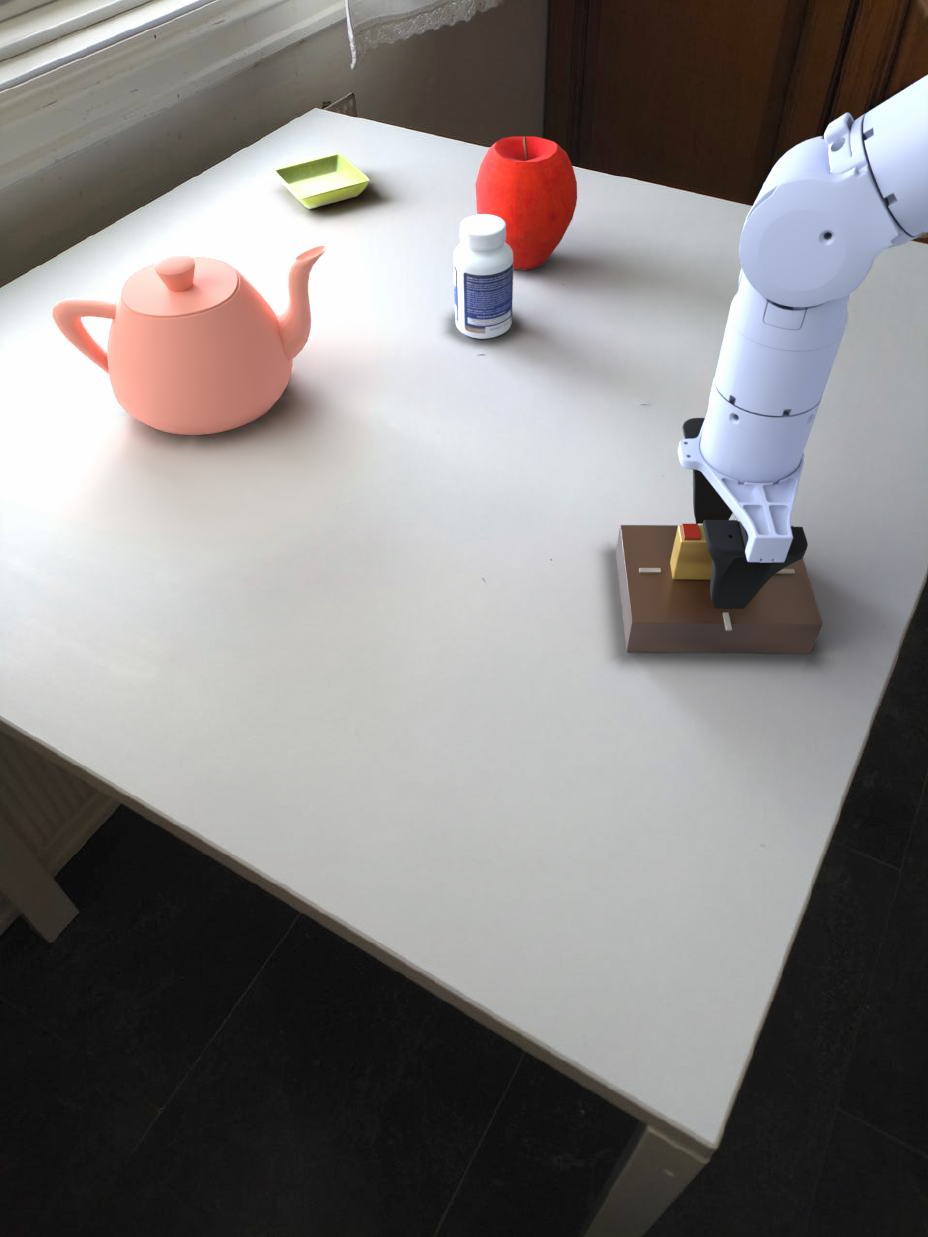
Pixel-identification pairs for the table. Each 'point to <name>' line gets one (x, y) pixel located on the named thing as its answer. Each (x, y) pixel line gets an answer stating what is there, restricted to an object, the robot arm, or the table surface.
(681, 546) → the handle
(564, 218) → the apple
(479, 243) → the pill bottle
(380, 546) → the table surface
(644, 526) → the lock plate
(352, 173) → the green square tray
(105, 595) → the table surface
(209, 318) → the teapot
